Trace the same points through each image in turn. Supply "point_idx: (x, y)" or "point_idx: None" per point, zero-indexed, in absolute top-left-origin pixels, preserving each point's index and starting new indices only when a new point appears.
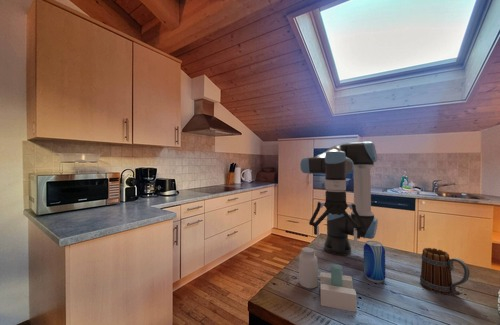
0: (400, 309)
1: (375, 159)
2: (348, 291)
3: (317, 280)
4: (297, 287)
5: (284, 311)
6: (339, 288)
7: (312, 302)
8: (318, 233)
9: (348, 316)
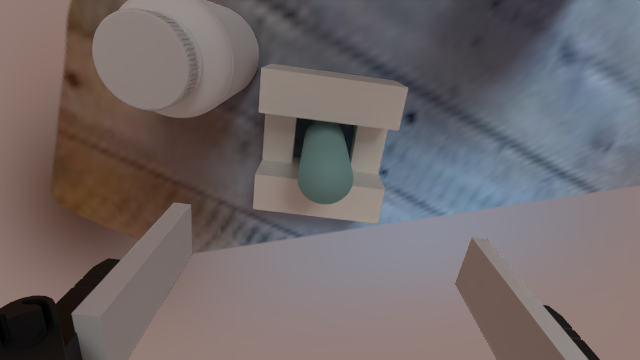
0: (517, 161)
1: None
2: (355, 208)
3: (253, 71)
4: None
5: None
6: None
7: (236, 174)
8: (145, 321)
9: None
